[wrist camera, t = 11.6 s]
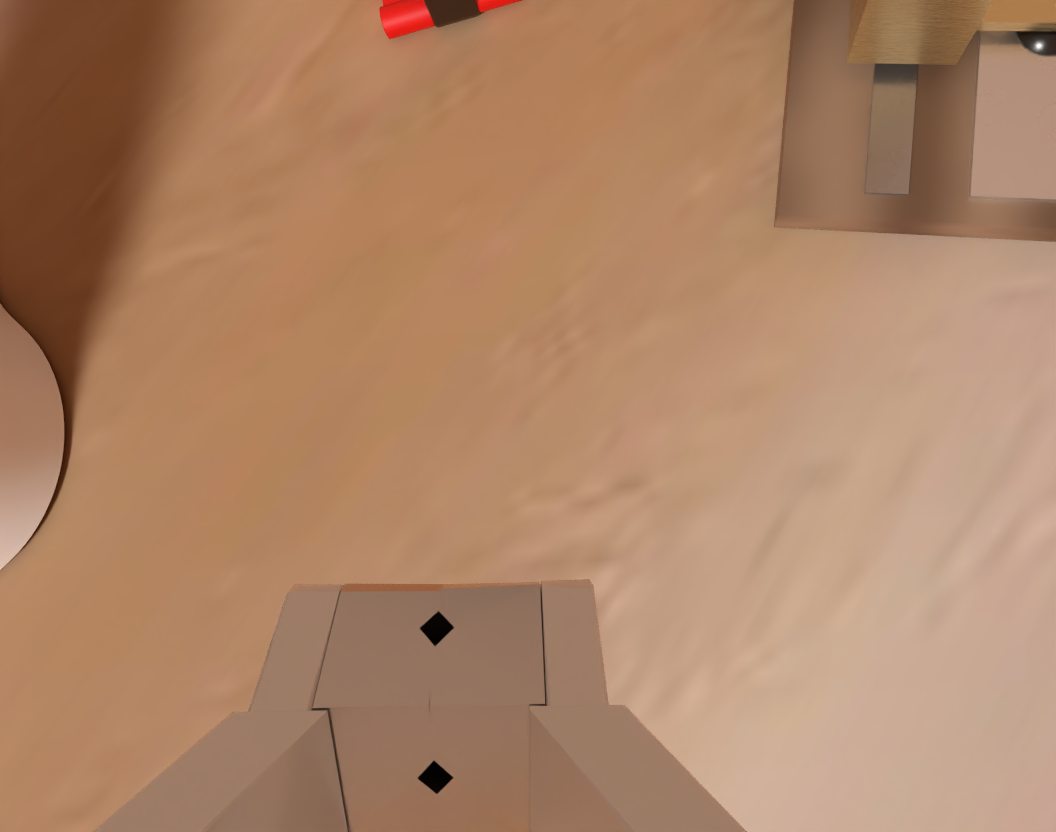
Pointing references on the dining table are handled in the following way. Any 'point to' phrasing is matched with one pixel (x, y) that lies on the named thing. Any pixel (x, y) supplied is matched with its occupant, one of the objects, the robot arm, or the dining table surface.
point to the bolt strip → (978, 121)
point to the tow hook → (430, 13)
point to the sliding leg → (935, 27)
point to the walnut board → (842, 142)
